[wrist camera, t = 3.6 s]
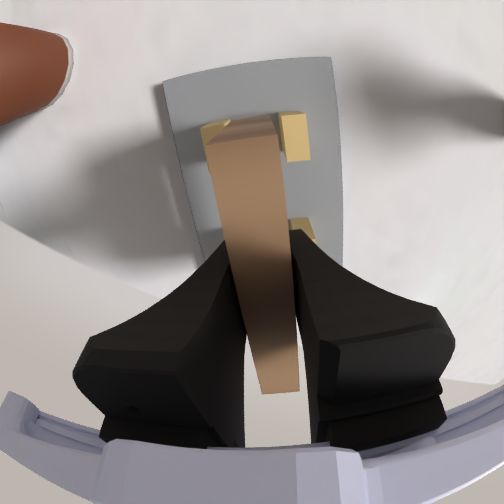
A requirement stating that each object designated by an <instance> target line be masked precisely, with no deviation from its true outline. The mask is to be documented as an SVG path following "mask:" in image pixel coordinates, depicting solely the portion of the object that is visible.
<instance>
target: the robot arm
mask: <svg viewBox="0 0 504 504" xmlns="http://www.w3.org/2000/svg"><path fill="white" fill-rule="evenodd" d="M289 239H290V250H291V262H292V273H293V286H294V299H295V314H296V318H297V322H298V327H299V331H300V336H301V340H302V345H303V350H304V359H305V369H306V379H307V390H308V401H309V414H310V430H311V444H304V445H293V446H279V447H258V448H257V447H256V448H245V432H244V353H245V343H246V336H247V332H246V328H245V324H244V320H243V316H242V312H241V308H240V303H239V299H238V295H237V291H236V286H235V282H234V278H233V274H232V269H231V265H230V261H229V256H228V252H227V247H226V243H225V240H224V241H223V242H222V243H221V244H220V245H219V246H218V248H217V249H216V250H215V251H214V252H213V253H212V254H211V255H210V257H209V258H208V259H207V260H206V261H205V262H204V263H203V264H202V265H201V266H200V267H199V268H198V269H197V270H196V271H195V272H194V273H193V274H192V275H191V276H190V277H189V278H188V279H187V280H186V281H185V282H184V283H182V284H181V285H180V286H179V287H178V288H176V289H175V290H174V291H173V292H171V293H170V294H169V295H167V296H166V297H165V298H163V299H162V300H160V301H159V302H157V303H156V304H154V305H153V306H151V307H150V308H148V309H147V310H145V311H143V312H142V313H140V314H138V315H137V316H135V317H133V318H131V319H129V320H127V321H126V322H123V323H121V324H119V325H117V326H115V327H113V328H111V329H108V330H106V331H104V332H101V333H99V334H97V335H94V336H92V337H90V338H89V340H88V342H87V344H86V346H85V347H84V349H83V351H82V353H81V355H80V357H79V359H78V361H77V363H76V366H75V368H74V370H73V379H74V381H75V383H76V385H77V387H78V389H79V390H80V391H81V392H82V393H83V394H84V395H85V396H86V397H87V398H88V399H89V400H90V401H91V402H92V403H93V404H94V405H95V406H96V407H97V408H98V409H99V410H100V411H101V412H102V413H103V414H104V415H105V418H104V421H103V424H102V427H101V430H97V429H94V428H90V427H86V426H83V425H80V424H76V423H73V422H70V421H67V420H64V419H61V418H58V417H55V416H52V415H49V414H47V413H44V412H41V411H39V409H38V408H37V407H36V406H35V405H34V404H33V403H31V402H30V401H29V400H28V399H26V398H25V397H23V396H20V395H18V394H16V393H13V392H11V391H8V393H7V395H6V397H5V399H4V401H3V403H2V405H1V408H0V450H2V451H3V452H5V453H6V454H7V455H9V456H11V457H12V458H13V459H15V460H16V461H18V462H19V463H21V464H22V465H24V466H25V467H27V468H28V469H30V470H31V471H33V472H35V473H36V474H38V475H40V476H41V477H43V478H45V479H47V480H48V481H50V482H52V483H54V484H56V485H58V486H60V487H61V488H64V489H65V490H67V491H70V492H72V493H74V494H76V495H78V496H80V497H82V498H85V499H87V500H89V501H92V502H93V503H94V504H434V501H436V500H439V499H441V498H443V497H446V496H448V495H449V494H452V493H454V492H456V491H458V490H460V489H462V488H464V487H466V486H468V485H470V484H471V483H473V482H475V481H477V480H479V479H480V478H482V477H484V476H485V475H487V474H489V473H490V472H492V471H494V470H495V469H497V468H498V467H500V466H502V465H503V464H504V385H502V386H500V387H498V388H497V389H495V390H493V391H491V392H489V393H487V394H485V395H483V396H480V397H478V398H476V399H474V400H472V401H469V402H467V403H465V404H462V405H460V406H458V407H455V408H453V409H450V410H448V411H445V410H444V407H443V404H442V402H441V399H440V396H439V395H441V394H442V392H443V391H442V390H443V389H442V386H441V383H440V381H439V378H440V376H441V375H442V373H443V371H444V370H445V368H446V366H447V364H448V363H449V361H450V359H451V357H452V354H453V352H454V349H455V338H454V336H453V334H452V332H451V330H450V328H449V326H448V324H447V323H446V321H445V319H444V318H443V316H442V315H441V313H440V312H439V310H438V309H437V307H433V306H430V305H426V304H423V303H419V302H416V301H412V300H409V299H406V298H403V297H401V296H398V295H395V294H393V293H390V292H388V291H385V290H383V289H381V288H379V287H377V286H375V285H373V284H371V283H369V282H367V281H365V280H363V279H361V278H359V277H358V276H356V275H354V274H353V273H351V272H350V271H348V270H347V269H345V268H344V267H342V266H341V265H339V264H338V263H337V262H335V261H334V260H333V259H332V258H331V257H329V256H328V255H327V254H326V253H325V252H324V251H323V250H322V249H320V248H319V247H318V246H317V245H316V244H315V243H314V242H313V241H312V240H311V239H310V238H309V236H308V235H307V234H306V233H305V232H304V231H303V230H302V229H295V230H289Z"/></svg>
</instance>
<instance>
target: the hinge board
mask: <svg viewBox="0 0 504 504" xmlns="http://www.w3.org/2000/svg"><path fill="white" fill-rule="evenodd" d="M163 86H164V92H165V97H166V102H167V107H168V112H169V117H170V122H171V126H172V131H173V136H174V140H175V145H176V149H177V154H178V158H179V162H180V167H181V171H182V175H183V179H184V184H185V188H186V192H187V196H188V200H189V204H190V208H191V212H192V215H193V219H194V223H195V227H196V231H197V234H198V238H199V242H200V246H201V249H202V253H203V256H204V260H205V261H206V260H207V259H208V258H209V257H210V255H211V254H212V253H213V252H214V251H215V250H216V249H217V248H218V246H219V245H220V244H221V243H222V242H223V241H224V240H225V238H224V234H223V229H222V225H221V220H220V216H219V211H218V207H217V202H216V197H215V193H214V188H213V183H212V178H211V173H210V169H209V164H208V159H207V154H206V149H205V145H206V144H207V143H208V142H209V141H210V140H211V139H212V138H213V137H214V136H215V135H216V134H217V133H218V132H220V131H221V130H222V129H223V128H224V127H225V126H226V125H227V124H228V123H230V122H231V121H233V120H240V119H246V118H253V117H261V116H270V118H271V120H272V123H273V125H274V127H275V130H276V132H277V134H278V141H279V149H280V157H281V165H282V173H283V182H284V191H285V200H286V209H287V219H288V229H289V230H295V229H302V230H303V231H304V232H305V233H306V234H307V235H308V236H309V238H310V239H311V240H312V241H313V242H314V243H315V244H316V245H317V246H318V247H319V248H320V249H322V250H323V251H324V252H325V253H326V254H327V255H328V256H329V257H331V258H332V259H333V260H334V261H335V262H337V263H338V264H339V265H341V266H342V260H343V186H342V162H341V145H340V131H339V119H338V109H337V100H336V91H335V83H334V75H333V68H332V61H331V57H307V58H290V59H278V60H268V61H259V62H251V63H244V64H238V65H232V66H226V67H221V68H215V69H210V70H206V71H201V72H197V73H192V74H188V75H184V76H180V77H176V78H173V79H169V80H166V81H163Z"/></svg>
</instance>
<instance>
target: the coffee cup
mask: <svg viewBox="0 0 504 504" xmlns="http://www.w3.org/2000/svg"><path fill="white" fill-rule="evenodd" d="M73 64H74V62H73V49H72V47H71V45H70V43H69V41H68V39H67V38H65V37H63V36H62V35H60V34H55V33H50V32H46V31H42V30H38V29H33V28H28V27H23V26H17V25H12V24H5V23H0V126H1V125H3V124H5V123H7V122H10V121H12V120H14V119H17V118H19V117H22V116H24V115H27V114H29V113H32V112H35V111H37V110H42V109H44V108H46V107H48V106H50V105H53V104H54V102H55V101H56V100H57V99H58V98H59V97H60V96H61V95H62V94H63V92H64V90H65V88H66V86H67V84H68V82H69V80H70V77H71V73H72V68H73Z"/></svg>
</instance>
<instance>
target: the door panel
mask: <svg viewBox="0 0 504 504" xmlns="http://www.w3.org/2000/svg"><path fill="white" fill-rule="evenodd" d="M205 149H206V154H207V159H208V164H209V169H210V173H211V178H212V183H213V188H214V193H215V197H216V202H217V207H218V211H219V216H220V220H221V225H222V229H223V234H224V238H225V243H226V247H227V252H228V256H229V261H230V265H231V269H232V274H233V278H234V282H235V286H236V291H237V295H238V299H239V303H240V308H241V312H242V316H243V320H244V324H245V328H246V332H247V336H248V340H249V344H250V348H251V352H252V356H253V360H254V364H255V368H256V371H257V376H258V379H259V383H260V387H261V391H262V394H273V393H285V392H295V391H299V367H298V346H297V329H296V314H295V299H294V286H293V273H292V262H291V250H290V239H289V229H288V219H287V209H286V200H285V191H284V182H283V173H282V165H281V157H280V149H279V141H278V134H277V132H276V130H275V127H274V125H273V123H272V120H271V118H270V116H261V117H253V118H246V119H240V120H233V121H231V122H230V123H228V124H227V125H226V126H225V127H224V128H223V129H222V130H221V131H220V132H218V133H217V134H216V135H215V136H214V137H213V138H212V139H211V140H210V141H209V142H208V143H207V144H206V145H205Z"/></svg>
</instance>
